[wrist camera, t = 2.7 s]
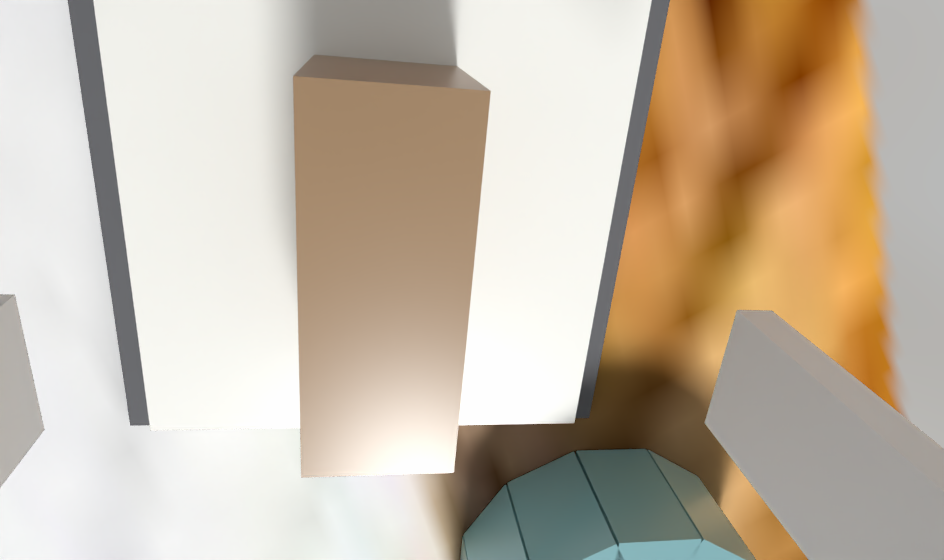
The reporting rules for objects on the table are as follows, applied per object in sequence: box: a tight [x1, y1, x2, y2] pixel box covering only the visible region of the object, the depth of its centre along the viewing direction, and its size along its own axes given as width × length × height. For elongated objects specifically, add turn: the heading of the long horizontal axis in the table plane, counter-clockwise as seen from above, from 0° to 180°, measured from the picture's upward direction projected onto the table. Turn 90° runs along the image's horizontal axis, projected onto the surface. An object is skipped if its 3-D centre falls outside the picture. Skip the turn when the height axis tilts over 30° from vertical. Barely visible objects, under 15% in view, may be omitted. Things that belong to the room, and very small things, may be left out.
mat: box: [68, 0, 670, 425], centre depth 21 cm, size 17×16×1 cm
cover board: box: [93, 0, 652, 478], centre depth 18 cm, size 15×15×6 cm
